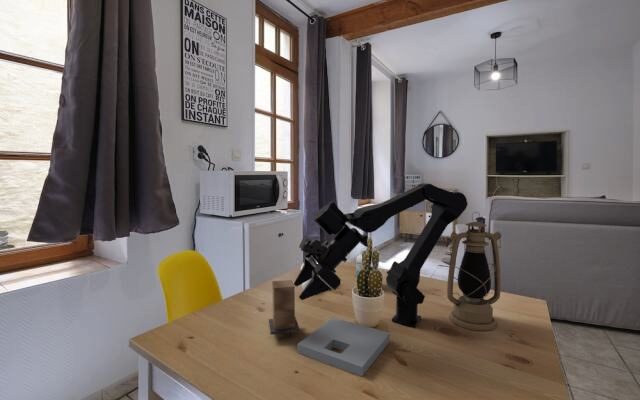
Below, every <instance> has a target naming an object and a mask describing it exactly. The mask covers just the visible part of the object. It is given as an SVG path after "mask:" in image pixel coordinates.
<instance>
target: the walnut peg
mask: <svg viewBox="0 0 640 400" xmlns="http://www.w3.org/2000/svg"><path fill="white" fill-rule="evenodd" d="M271 283H272V286H271V287H272V318H269V319H268V326H269V332H270V335H277V336H278V337H281V338H287V337H289V336H290V335H291V333H295V332H297V333H298V332H300V327H299V323H298V320H297V317H296V313H295V311H296V309H295V308H296V303H295V300H296V299H295V297H296V296H295V295H296V294H295V293H296V291H295V287H296V286H295V285H294V282H293V280H292V279H285V280H283V279H282V280H274V281H273V280H272V282H271Z"/></svg>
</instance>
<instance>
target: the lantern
mask: <svg viewBox="0 0 640 400" xmlns="http://www.w3.org/2000/svg"><path fill="white" fill-rule="evenodd" d="M475 213H477V214H478V219H480V218H481V217H480V216H481V215H480V213H479V212H478V211H474V212H473V213H472V214H471V216H473V214H475ZM471 220H472V221H470V222H468V223H465V226H467V230H466V231H465V232H460V233H457V232H452V233H450V237H451V239H452V245H451V246H450V247H449V253H450V260H449V265H448V275H447V289H446V295H447V296H446V297H447V299H448V300H449V302H450V303H452V304H453V310H452V311H451V312H450V313H449V315H448V319H449V320H450V321H451V322H452V323H454V324H455V325H457V326H460V327H462V328H465V329H469V330H471V331H472V330H474V331H487V332H488V331H492V330H495V329H496V328H497V327H498V322H497V320H496V319H495V318H494V317H493V312H494V308H493V307H492V304H494V303H496V302H498V301H499V299H500V298H501V267H500V266H501V264H500V253H499V252H500V251H499V249H501V248H502V243H501V238H502V237H503V236H502V233H500V231H497V232H494V233H491V232H488V231H485V230H484V228H485V227H487V224H485V223H483V222H480V220H478V221H474V218H473V217H471ZM474 227H475V228H474ZM476 227H477V228H478V229H477V228H476ZM465 238H466V239H465ZM486 238H488V239H489V240H490V243H491V248H492V249H491V250H492V257H493V258H492V259H493V262H492V263H490V265H492V266H491V268H490V269H489V267H490V266H489V263H488V259H487V254H486V250H485V247H487V246H489V245H490V243H489V242H487V241H486ZM463 239H465V240H463ZM498 241H499V245H498ZM460 243H461V244H463V245H466V246H465V249H464V254H463V256H462V259H461V263H460V266H459V267H457V266H456V263H457V256H458V251H459V246H460ZM492 268H493V273H492V274H491V270H492ZM455 269H458V274H457V278H456V277H455ZM492 276H494V279H493V280H494V286H493V288H494V289H493V290H494V291H493V296H492V297H490V298H488V299H485V298H487V296H488V295H489V294H490V291H491V287H492V286H491V285H492V279H491V278H492ZM454 279H455V280H456V281H457V286H458V288H459V290H460V292H462V295H460V294H459V293H458V292H453V291H454ZM454 294H455V295H456V294H457V295H458V297H457V298H455V297H454Z"/></svg>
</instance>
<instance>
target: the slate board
mask: <svg viewBox="0 0 640 400" xmlns="http://www.w3.org/2000/svg"><path fill="white" fill-rule="evenodd" d="M390 342H391V332H388V331H384V330H381V329H377V328H373V327H370V326H366V325H361V324H359V323H355V322H351V321H347V320H344V319H341V318H338V317H337V318H336V317H334V316H332V317H331V318H330V319H328V320H327V321H326V322H324V324H322V325H321V326H319V327H318V328H316V329H315V330H314V331H313V332H311V333H310V334H309V335H307V336H306V337H305V338H304V339H302V340H301V341H300V342H298V343H297V345H296V346H297V347H296V348H297V353H298V354H300V355H302V356H306V357H308V358H311V359H313V360H316V361H319V362H321V363H324V364H327V365H329V366H332V367H335V368H338V369H341V370H344V371H346V372H349V373H352V374H353V375H356V376H360V377H363V376H364V374H366V372H367V371H368V370H369V369H370V367H371V366H372V364H374V362H375V360H377V358H378V357H379V356H380V354H382V352H383V350H384V349H385V348H386V347H387V346H388V344H389V343H390ZM332 349H337V350H340V351H342V352H341V353H339V352H336V351H334V350H332Z"/></svg>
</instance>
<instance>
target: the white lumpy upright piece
mask: <svg viewBox="0 0 640 400" xmlns="http://www.w3.org/2000/svg"><path fill="white" fill-rule="evenodd" d="M303 265H304V262H303V263H302V264H301V266H300V269H299V270H300V271H301V269H302V268H303ZM311 279H312V278H311ZM311 279H309V280H308V281H306V282H304V283H303V284H301V286H300V288H301V290H302V291H303V290H304V289H305V288H306V286H307V285H308V283H309V282H310V281H311Z"/></svg>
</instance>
